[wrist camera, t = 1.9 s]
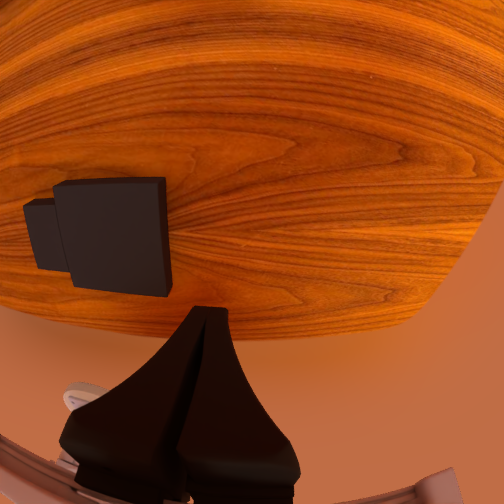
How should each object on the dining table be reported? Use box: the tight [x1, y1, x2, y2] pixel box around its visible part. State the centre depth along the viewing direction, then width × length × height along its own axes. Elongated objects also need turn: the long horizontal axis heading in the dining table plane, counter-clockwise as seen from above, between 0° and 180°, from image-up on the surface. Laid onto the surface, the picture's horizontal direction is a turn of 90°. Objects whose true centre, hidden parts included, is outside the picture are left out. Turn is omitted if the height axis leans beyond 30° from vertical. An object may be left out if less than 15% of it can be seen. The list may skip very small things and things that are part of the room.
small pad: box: [23, 177, 173, 297], centre depth 18 cm, size 8×12×2 cm
